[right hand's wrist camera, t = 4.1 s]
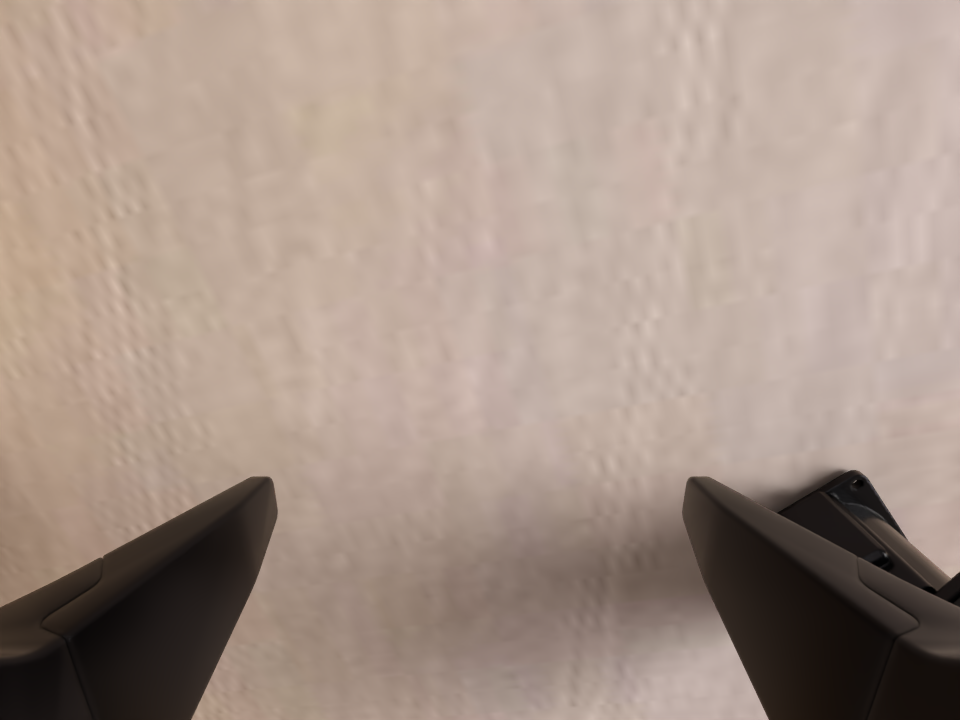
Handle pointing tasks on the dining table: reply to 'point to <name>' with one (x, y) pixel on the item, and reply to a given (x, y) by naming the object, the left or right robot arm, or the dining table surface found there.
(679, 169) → the dining table surface
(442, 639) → the dining table surface
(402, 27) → the dining table surface
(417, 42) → the dining table surface
